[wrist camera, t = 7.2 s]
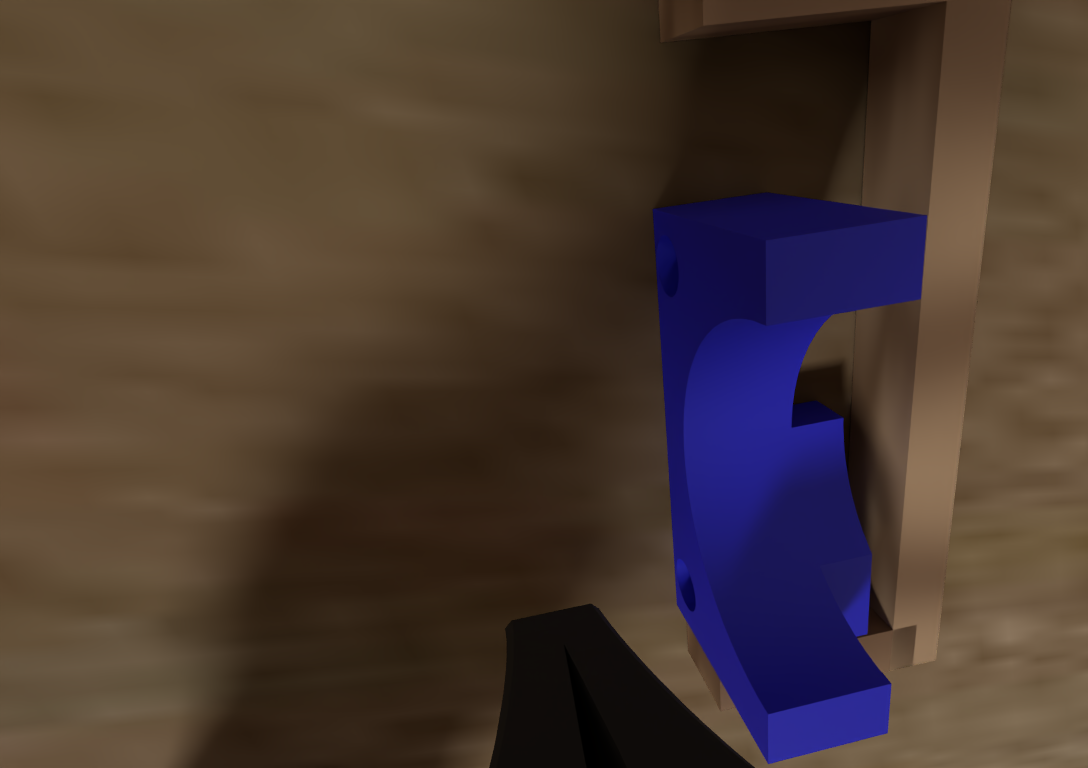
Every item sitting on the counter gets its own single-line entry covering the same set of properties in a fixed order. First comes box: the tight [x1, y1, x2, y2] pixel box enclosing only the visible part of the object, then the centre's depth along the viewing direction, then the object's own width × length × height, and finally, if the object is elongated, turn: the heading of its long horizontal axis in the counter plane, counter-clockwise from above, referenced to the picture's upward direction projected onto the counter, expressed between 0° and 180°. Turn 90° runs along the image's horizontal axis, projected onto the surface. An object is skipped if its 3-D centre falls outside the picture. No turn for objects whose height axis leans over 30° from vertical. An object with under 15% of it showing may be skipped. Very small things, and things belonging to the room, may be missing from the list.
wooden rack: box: [659, 0, 1012, 711], centre depth 18 cm, size 19×7×2 cm, turn 6°
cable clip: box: [653, 192, 927, 764], centre depth 17 cm, size 12×4×6 cm, turn 7°
